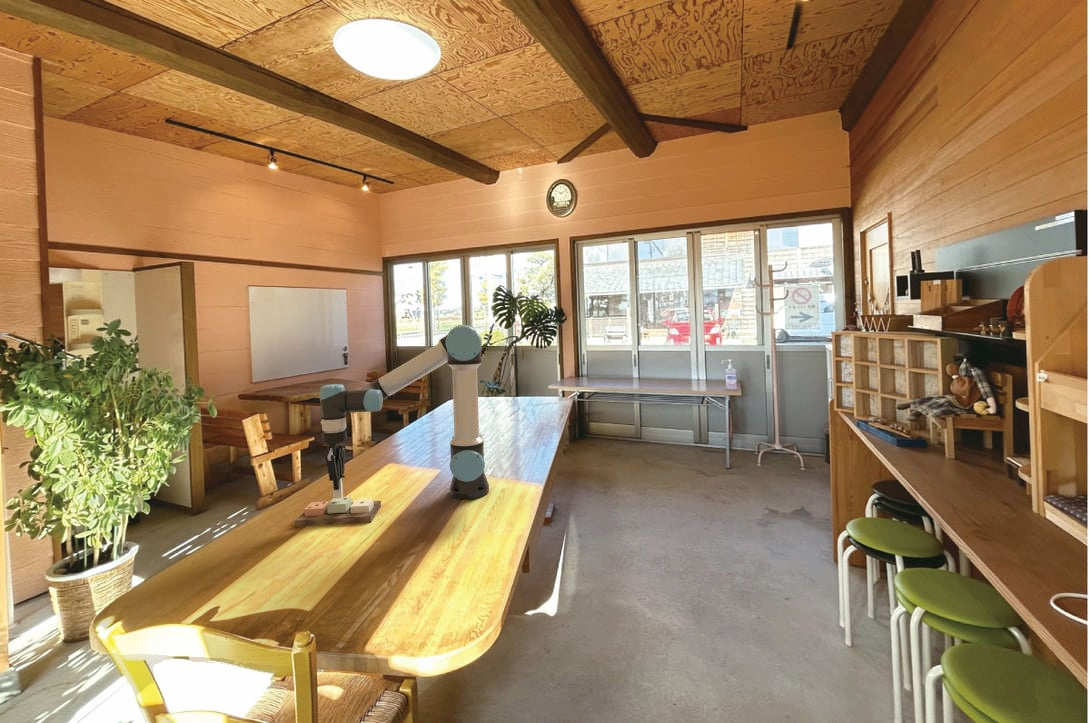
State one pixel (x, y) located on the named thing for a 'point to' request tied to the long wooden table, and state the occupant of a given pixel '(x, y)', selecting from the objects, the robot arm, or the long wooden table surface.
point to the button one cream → (362, 506)
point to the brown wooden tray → (338, 517)
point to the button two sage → (339, 505)
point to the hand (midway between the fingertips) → (338, 497)
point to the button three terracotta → (316, 508)
